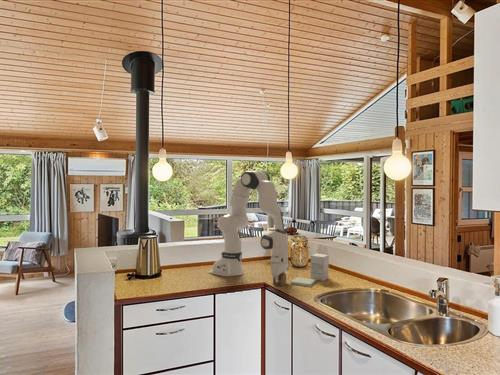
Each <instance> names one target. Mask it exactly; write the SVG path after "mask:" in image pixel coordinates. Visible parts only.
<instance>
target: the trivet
mask: <svg viewBox="0 0 500 375" xmlns="http://www.w3.org/2000/svg"><path fill="white" fill-rule="evenodd" d="M316 281H317V280H316V279H310V278H306V277H300V276H299V277H297V276H296V277H295V278H293V280H291V281H290V285H295V286H300V287H301V286H302V287H309V288H310V287H311V288H312V286H313V285H314V284H316Z"/></svg>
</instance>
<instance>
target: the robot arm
mask: <svg viewBox="0 0 500 375" xmlns="http://www.w3.org/2000/svg"><path fill="white" fill-rule="evenodd" d="M252 190H256V191H257V194H258V206H259V209H260V210H261V212H263V213H264V214H266V215H267V216H270V217H271V219H272V220H273V225H274V226H273V227H274V230H273V231H271V232H269V233H264V234H263V235H262V236H261V238H260V245H261V246H260V247H262V249H264V250H267V251H268V250H271V251H272V256H271V257H270V260H269V262H270V273H271V276H272V277H273V276H274V277H275V282H277V283H278V282H279V279H278V277H279V275H280V274H281V273H284V274H286V271H288V268H289V262H288V261H289V260H288V257H289V253H288V252H289V251H288V246H289V235H288V233H287V231H286V230H285V226H284V225H285V224H284V219H283V213H282V211H281V210H282V209H281V208H280V207H279V205H278V200H277V190H276V186H275V183H274V182H273V181H271V177H270V175H269V174H268V173H267V172H265V171H263V170H262V171H261V170H246V171H244V172H242V173H241V176H240V177H238V178H237V179H236V182H235V184H234V186H233V189H232V193H231V196H230V201H229V205H230V207H231V212H230V213H228V214H227V213H226V214H224V215H222V216H220V217H219V218H218V220H217V227H218V229H219V230H220V231H221V233H222V234H223V239H224V243H223V244H224V250H223V251H222V252H221V254H220V256H221V257H220V258H218V259H217V260H216V261H214V263H213V265H212V269H210V270H209V271H208V273H209V274H213V275H216V276H223V277H234V276H235V277H237V276H241V275H244V269H243V263H242V261H243V252H242V242H243V241H242V239H241V238H240V237H239V234H238V231H239V230H242V229H245V228H246V227H248V225H249V218H248V216H247V207H248V202H249V197H250V193H251V191H252Z"/></svg>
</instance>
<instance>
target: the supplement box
mask: <svg viewBox="0 0 500 375" xmlns="http://www.w3.org/2000/svg"><path fill="white" fill-rule="evenodd" d="M329 262H330V261H329V254H324V253H315V254H314V253H313V254H311V255H310V272H309V273H310V278H309V279H316V281H321V282H324V281H326V280H327V279H329Z"/></svg>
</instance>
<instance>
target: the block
mask: <svg viewBox="0 0 500 375" xmlns="http://www.w3.org/2000/svg"><path fill="white" fill-rule="evenodd" d="M278 279H279V282H278V283H277V282H275V277H274V276H272V286H279V287H280V286H281V287H283V286H284V285H286V284H287V273H285V274H284V273H281V274H280V275H279V277H278Z"/></svg>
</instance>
